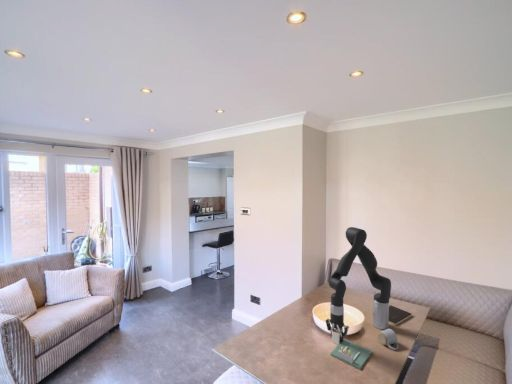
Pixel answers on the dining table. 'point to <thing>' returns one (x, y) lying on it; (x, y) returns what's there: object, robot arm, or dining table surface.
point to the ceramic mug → (388, 338)
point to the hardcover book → (397, 315)
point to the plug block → (336, 336)
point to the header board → (351, 353)
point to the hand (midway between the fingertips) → (336, 339)
